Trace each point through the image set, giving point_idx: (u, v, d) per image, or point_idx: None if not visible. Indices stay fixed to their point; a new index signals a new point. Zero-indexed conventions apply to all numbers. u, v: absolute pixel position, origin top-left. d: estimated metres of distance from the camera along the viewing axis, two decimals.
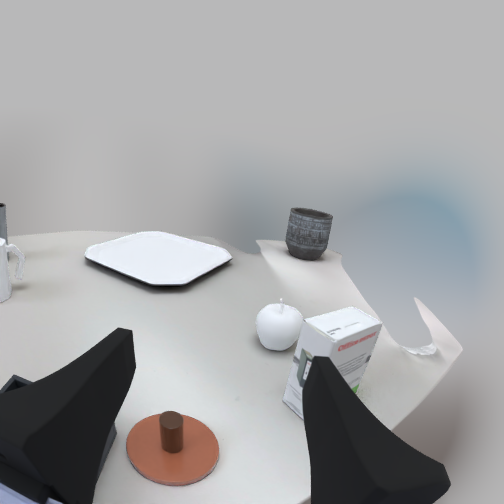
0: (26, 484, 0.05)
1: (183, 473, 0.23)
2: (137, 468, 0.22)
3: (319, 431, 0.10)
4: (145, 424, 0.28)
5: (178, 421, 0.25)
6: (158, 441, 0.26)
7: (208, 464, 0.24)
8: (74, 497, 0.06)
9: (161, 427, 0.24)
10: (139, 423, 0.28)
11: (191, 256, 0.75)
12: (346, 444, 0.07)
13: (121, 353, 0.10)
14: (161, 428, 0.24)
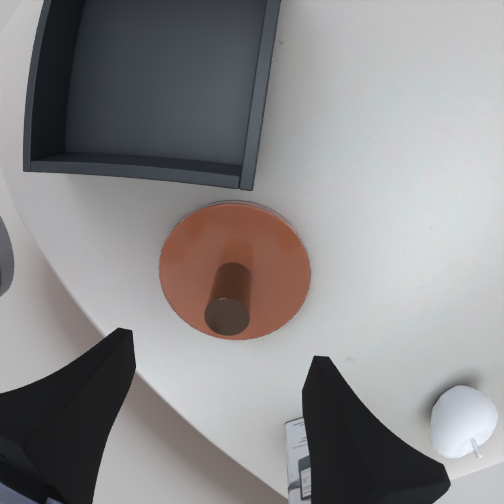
0: (26, 484, 0.05)
1: (177, 295, 0.19)
2: (174, 228, 0.18)
3: (319, 431, 0.10)
4: (276, 231, 0.18)
5: (224, 328, 0.15)
6: (238, 257, 0.18)
7: (200, 326, 0.20)
8: (74, 497, 0.06)
9: (212, 297, 0.15)
10: (276, 221, 0.17)
11: None
12: (345, 444, 0.07)
13: (121, 353, 0.10)
14: (212, 296, 0.15)
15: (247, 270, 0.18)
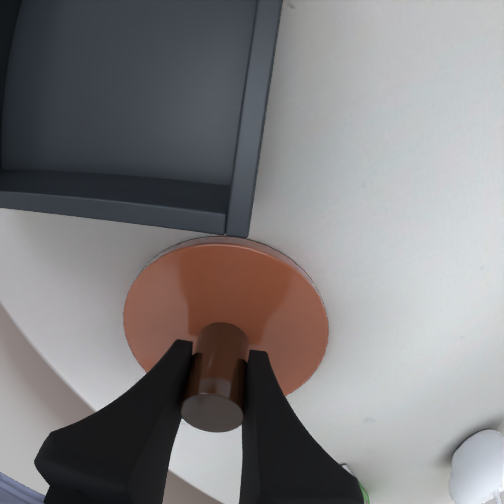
0: None
1: (150, 357, 0.14)
2: (139, 275, 0.12)
3: (247, 427, 0.09)
4: (283, 282, 0.12)
5: (209, 425, 0.10)
6: (228, 316, 0.13)
7: None
8: None
9: (189, 387, 0.10)
10: (283, 268, 0.12)
11: None
12: (255, 442, 0.07)
13: (186, 366, 0.11)
14: (189, 384, 0.10)
15: (242, 333, 0.13)
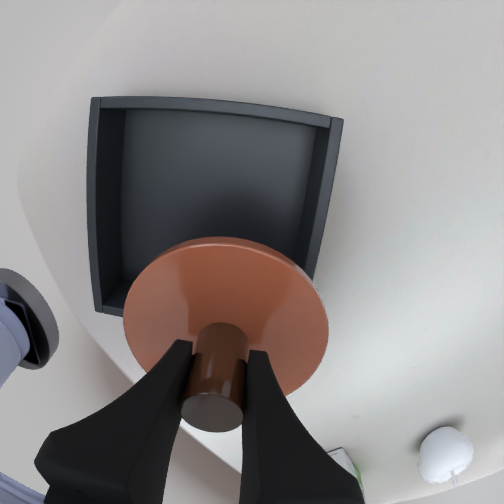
0: None
1: (150, 357, 0.14)
2: (139, 275, 0.12)
3: (247, 427, 0.09)
4: (283, 282, 0.12)
5: (209, 425, 0.10)
6: (228, 316, 0.13)
7: None
8: None
9: (189, 387, 0.10)
10: (283, 268, 0.12)
11: None
12: (254, 441, 0.07)
13: (186, 366, 0.11)
14: (189, 384, 0.10)
15: (241, 333, 0.13)
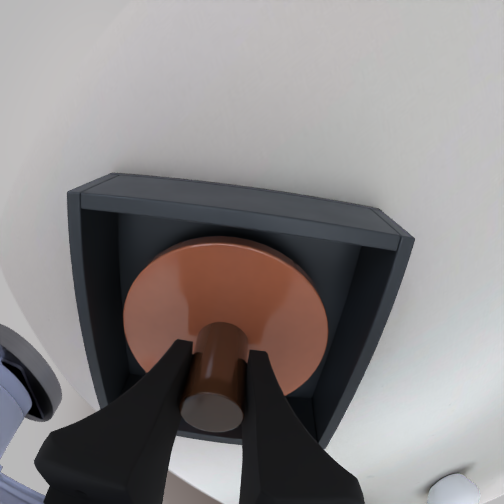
0: None
1: (150, 357, 0.14)
2: (139, 274, 0.12)
3: (247, 427, 0.09)
4: (283, 282, 0.12)
5: (209, 424, 0.10)
6: (228, 315, 0.13)
7: None
8: None
9: (189, 387, 0.10)
10: (283, 268, 0.12)
11: None
12: (255, 442, 0.07)
13: (186, 366, 0.11)
14: (189, 384, 0.10)
15: (241, 333, 0.13)
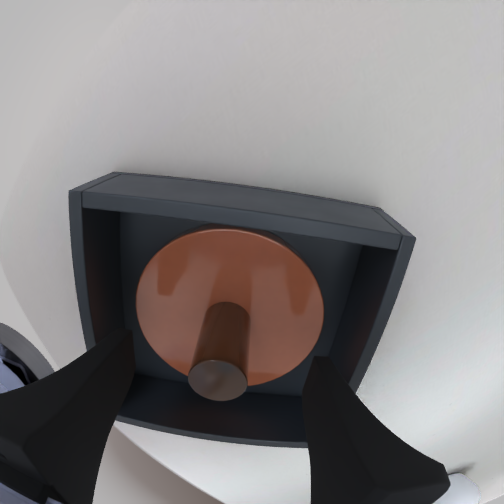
0: (26, 484, 0.05)
1: (159, 336, 0.15)
2: (151, 258, 0.14)
3: (319, 431, 0.10)
4: (282, 264, 0.14)
5: (214, 393, 0.11)
6: (233, 295, 0.14)
7: None
8: (74, 497, 0.06)
9: (197, 356, 0.11)
10: (282, 251, 0.13)
11: None
12: (345, 444, 0.07)
13: (121, 353, 0.10)
14: (198, 354, 0.11)
15: (245, 312, 0.14)
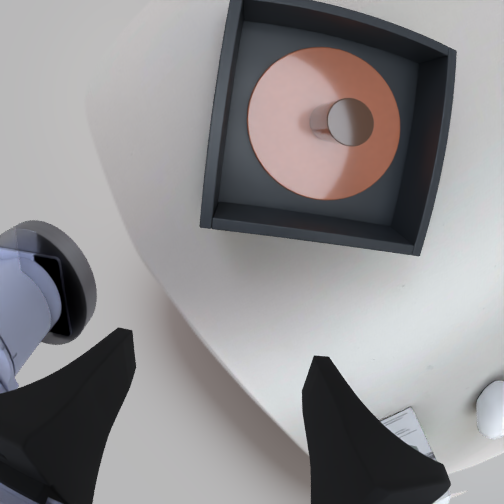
0: (26, 484, 0.05)
1: (265, 140, 0.17)
2: (269, 67, 0.15)
3: (319, 431, 0.10)
4: (369, 77, 0.15)
5: (348, 135, 0.13)
6: (334, 98, 0.16)
7: (288, 181, 0.18)
8: (74, 497, 0.06)
9: (333, 103, 0.13)
10: (369, 68, 0.15)
11: None
12: (346, 444, 0.07)
13: (121, 353, 0.10)
14: (332, 103, 0.13)
15: None
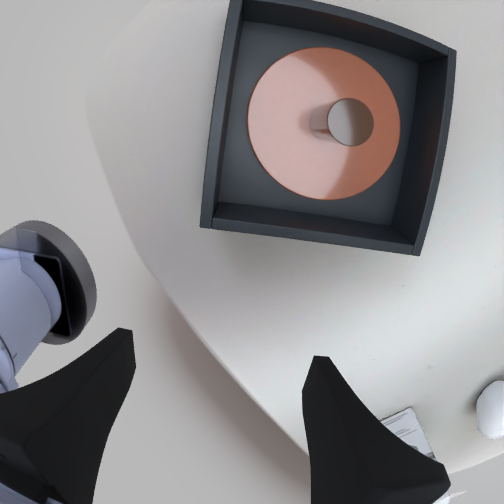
0: (26, 484, 0.05)
1: (265, 140, 0.17)
2: (269, 67, 0.15)
3: (319, 431, 0.10)
4: (369, 77, 0.15)
5: (348, 135, 0.13)
6: (334, 98, 0.16)
7: (288, 181, 0.18)
8: (74, 497, 0.06)
9: (333, 103, 0.13)
10: (369, 68, 0.15)
11: None
12: (346, 444, 0.07)
13: (121, 353, 0.10)
14: (332, 103, 0.13)
15: None
